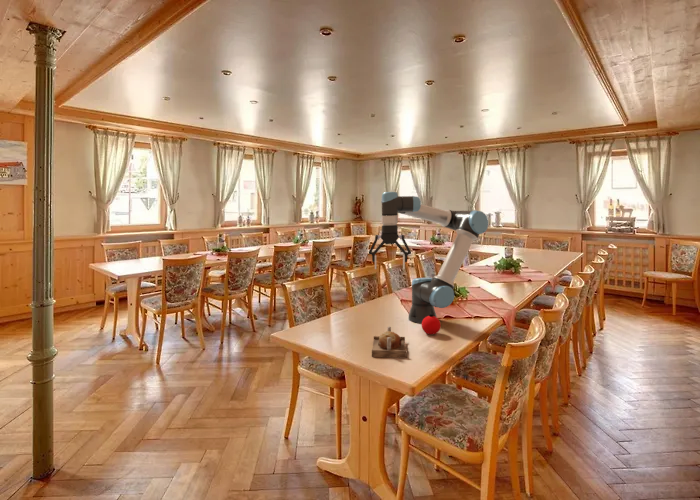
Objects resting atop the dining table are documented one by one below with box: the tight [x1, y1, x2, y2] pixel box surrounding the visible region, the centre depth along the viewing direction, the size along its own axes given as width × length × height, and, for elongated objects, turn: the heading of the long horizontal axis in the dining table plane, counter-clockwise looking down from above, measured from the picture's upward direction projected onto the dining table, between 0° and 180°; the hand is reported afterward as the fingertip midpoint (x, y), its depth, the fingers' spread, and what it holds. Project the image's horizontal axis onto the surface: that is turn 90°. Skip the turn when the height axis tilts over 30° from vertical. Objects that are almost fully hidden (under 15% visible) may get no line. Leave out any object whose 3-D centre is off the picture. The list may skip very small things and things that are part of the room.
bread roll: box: [378, 330, 402, 349], centre depth 165 cm, size 10×10×8 cm
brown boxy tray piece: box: [371, 326, 407, 358], centre depth 165 cm, size 14×18×8 cm
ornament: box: [421, 314, 442, 336], centre depth 184 cm, size 9×9×10 cm
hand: (389, 268), depth 185 cm, fingers open, 13 cm apart
